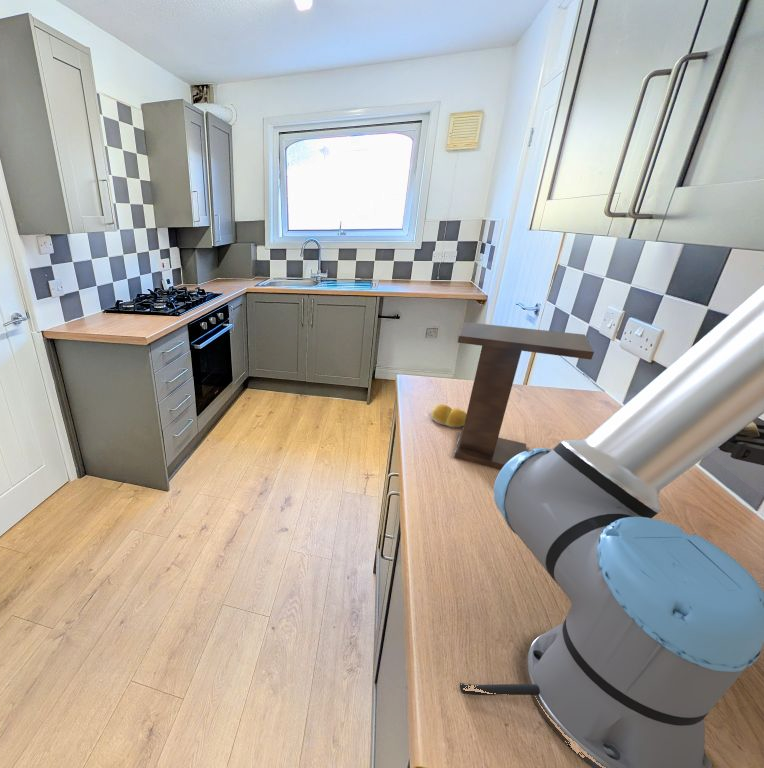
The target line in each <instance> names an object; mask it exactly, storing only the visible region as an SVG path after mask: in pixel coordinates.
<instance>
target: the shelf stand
mask: <svg viewBox="0 0 764 768" xmlns="http://www.w3.org/2000/svg"><path fill="white" fill-rule="evenodd" d="M457 343H458V344H466V345H474V346H481V349H480V352H479V357H478V362H477V365H476V371H475V375H474V380H473V384H472V388H471V393H470V396H469V402H468V406H467V411H466V419H465V423H464V426H463V428H461V429H460V431H459V435H458V440H457V444H456V448H455V452H454V456H453V458H454V459H458V460H461V461H466V462H470V463H474V464H476V465H480V466H485V467H489V468H493V469H497V470H499V471H501V469H502V468H503V466H504V465H505V464H506V463H507V462H508V461H509V460H510V459H512V458H513V457H514V456H516V455H518V454H519V453H521V452H524V451H527V450H528V449H527V443H525V442H522V441H521V442H520V441H515V440H512V439H507V438H502V437H499V436H500V432H501V429H502V425H503V421H504V417H505V414H506V410H507V406H508V403H509V399H510V395H511V392H512V388H513V384H514V381H515V377H516V373H517V369H518V366H519V363H520V358H521V354H522V352H528V353H536V354H543V355H552V356H560V357H568V358H574V359H575V358H576V359H581V360H582V359H583V360H590V361H591V360H592V359H593V357H594V354H595V351H594V349H593V346H592V345H591V344H590V343H591V342H589V340H588V338H587V336H586V334H585V333H584V334H583V333H575V332H574V333H573V332H565V331H563V332H562V331H553V330H546V329H545V330H544V329H536V328H526V327H525V328H524V327H515V326H507V325H506V326H505V325H497V324H496V325H495V324H487V323H477V322H468V321H465V322H464V323H463V324H462V327H461V329H460V332H459V335H458V338H457ZM527 452H528V451H527Z"/></svg>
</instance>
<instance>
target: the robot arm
mask: <svg viewBox="0 0 764 768" xmlns="http://www.w3.org/2000/svg"><path fill="white" fill-rule="evenodd" d="M763 270H764V264H763ZM763 414H764V284H763V285H761V286H760V288H758V289H757V290H756V291H755V292H753V294H751V295H750V296H749V297H748V298H746V300H744V301H743V302H742V303H741V304H740V305H738V306H737V307H736V308H735V309H733V311H731V313H730V314H728V315H727V316H726V317H724V318H723V319H722V320H721V321H720V322H719V323H718V324H716V326H714V327H713V328H712V329H711V330H709V331H708V332H707V334H705V335H704V336H702V338H701V339H700V340H698V341H697V342H696V343H695V344H693V346H691V347H690V348H689V349H688V350H686V351H685V352H684V353H683V354H682V355H681V356H680V357H678V359H676V360H675V361H674V362H673V363H672V364H670V365H668V367H667V368H666V369H664V370H663V371H662V372H661V373H660V374H659V375H658V376H656V377H655V378H654V379H653V380H652V381H651V382H650V383H648V384H647V385H646V386H644V388H642V389H641V390H640V391H639V392H638V393H637V394H636V395H635V396H633V397H632V398H631V399H630V400H629V401H627V402H626V403H625V404H624V405H623V406H622V407H620V408H619V409H618V410H617V411H616V412H615V413H614V414H612V415H610V417H609V418H608V419H607V420H605V421H604V422H603V423H602V424H601V425H600V426H598V427H597V428H596V429H594V430H593V432H592V433H590V434H589V435H588V436H586V438H583V439H572V440H571V439H566V440H565V439H564V440H562V441H560V442H559V443H558V444H557V445H556V446H555V447H554V448H553V449H550V448H545V447H537V448H531V449H530V451H524V452H521V453H519V454H518V455H516V456H514V457H513V458H512V459H510V460H509V461H508V462H507V463H506V464H505V465H504V466H503V468H502V469H501V470H499V472H498V474H497V475H496V478H495V480H494V486H493V494H494V495H493V500H494V503H495V506H496V508H497V510H498V512H499V513H500V515H502V517H503V518H504V520H505V523H506V524H507V526H508V528H509V529H510V530H511V531H512V532H513V533H514V534H515V535H517V536H518V538H519V539H520V540H521V541H522V543H523V544H524V545H525V546H526V548H527V549H528V550H529V551H530V553H531V554H532V555H533V556H534V557H535V559H536V560H537V561H538V563H540V565H541V566H542V568H543V569H544V570H545V571H546V572H547V574H548V575H549V576H550V577H551V578H552V580H553V581H554V582H555V583H556V585H557V586H558V587H559V588H560V589H561V591H562V592H563V593H564V594H565V595H566V597H567V598H568V600H569V601H570V604H571V605H570V607H569V610H568V611H567V614H566V617H565V618H564V621H563V622H561V623H560V624H558V625H556V626H555V627H553V628H551V629H549V630H547V631H546V632H544V633H542V634H541V635H539V636H538V637H537V638H536V639H534V640H533V641H532V643H531V645H530V648H529V650H528V652H527V655H526V657H525V660H524V677H525V678H524V679H525V682H526V683H501V684H500V683H499V684H497V683H496V684H471V683H467V684H468V685H469V686H471V685H474V687H475V685H476V687H475V688H474V689H476V688H477V689H479V690H480V689H481V690H483V691H484V692H485V691H486V692H489V693H493V694H487V693H481V692H475V691H465V690H463V688H465V687H466V686H467V687H466V688H467V689H468V685H464V684H465V683H462V682H460V683H459V689H460V692H461V694H463V695H469V696H470V695H471V696H495V695H494V693H496V694H507V695H506V696H531V698H532V700H533V703H534V705H536V708H537V709H538V711H539V713H540V715H541V716H542V718H543V719H544V720H545V721H546V723H547V724H548V726H549V727H550V728H551V729H552V731H553V732H554V733H555V734H556V735H557V736H558V737H559V738H560V740H561V741H562V742H563V743H564V744H565V745H567V744H568V745H569V744H570V742H569V741H568V740H567V739H566V738H565V737H564V736H563V735H562V733H561V732H560V731H559V730H558V729H557V728H556V727H555V725H554V724H553V723H552V722H551V721H550V719H549V718H548V717H547V715H546V714H545V712H546V713H547V714H548V715H549V717H550V718H551V719H552V720H553V721H554V722H555V723H556V724H557V726H558V727H560V729H561V730H562V731H563V732H564V734H565V735H567V736H568V737H569V738H571V739H572V740H573V741H575V742H576V743H577V744H578V745H579V746H580V747H581V748H582V749H583V750H584V751H586V752H587V754H588V755H590V756H591V757H593V759H595V760H596V762H598V763H600V764H601V765H602V766H604V767H606V768H711V767H712V766H713V763H712V762H711V760H710V758H708V756H707V755H706V749H705V733H706V732H705V729H706V728H705V718H706V716H707V715H708V714H709V713H710V712H711V711H712V709H713V708H714V707H715V706H716V705H717V704H718V703H719V702H720V700H721V699H722V698H723V696H725V694H726V693H727V692H728V691H729V689H730V688H731V687H732V686H733V685H734V683H735V682H736V681H737V680H738V678H740V676H741V675H742V674H743V673H744V671H745V670H746V669H747V668H749V667H750V666H752V665H754V663H755V662H756V661H757V660H758V659H759V658H760V656H761V654H762V653H761V652H762V650H763V646H764V589H763V588H762V587H761V585H760V583H759V582H758V581H757V580H756V579H755V578H754V576H752V574H751V573H750V572H749V571H748V570H747V569H746V568H745V567H744V566H743V565H741V563H740V562H738V561H737V560H736V559H735V558H733V556H731V555H730V554H728V553H727V552H725V550H724V549H722V548H720V547H719V546H717V545H715V544H714V543H712V542H711V541H709V540H707V539H706V538H704V537H702V536H700V535H698V534H695V533H693V534H688V533H686V532H685V531H684V530H683V529H682V527H681V526H678V525H675V524H673V523H670V522H667V521H664V520H661V519H656V518H654V517H655V516H657V515H658V514H659V513H660V512H661V510H662V509H661V503H660V498H659V497H660V496H659V495H660V491H662V490H663V489H664V488H666V487H667V486H668V485H670V484H671V483H673V482H674V481H675V480H677V479H678V478H679V477H681V475H683V474H685V473H686V472H687V471H689V470H690V469H691V468H693V467H694V466H695V465H697V464H698V463H699V462H700V461H702V460H703V459H705V458H706V457H708V456H709V455H710V454H711V453H713V452H714V451H716V449H719V450H720V452H723V453H727V454H728V453H729V454H730V455H729V457H730V458H732V459H734V460H737V461H742V462H746V463H751V464H755V465H759V466H764V422H762V421H756V420H757V419H758V418H759V417H761V416H762V415H763ZM751 422H754V423H755V424H756V426H757V429H758V432H759V434H760V436H756V437H749V438H747V437H739V436H737V434H736V433H738V432H739V431H740V430H742V429H743V428H744V427H746V426H747V425H748V424H750V423H751ZM461 684H462V685H461ZM477 685H478V686H477ZM466 688H465V689H466ZM469 688H470V687H469ZM508 694H509V695H508ZM535 696H536V697H535ZM536 698H537V699H536ZM537 700H538V701H539V703H540V705H541V706H542V707H543V709H544V710H545V712H544V711H543V709H542V708H541V706H540V705H539V703H538V701H537ZM565 741H566V742H567V743H566V742H565ZM568 742H569V743H568ZM568 745H567V746H568ZM570 745H571V744H570ZM570 745H569V746H570ZM569 746H568V747H569ZM570 747H571V746H570ZM570 747H569V748H570ZM579 753H580V752H579ZM579 753H578V754H579ZM581 753H582V752H581ZM581 753H580V754H581ZM582 754H583V753H582ZM582 754H581V755H582ZM583 755H584V754H583ZM584 756H585V755H584ZM582 760H583V761H584V762H586V763H587V764H588V765H590V766H591V767H592V768H602V767H600V766H599V765H597V764H596V763H595V762H593V761H592V760H591V759H589V758H588V757H586V756H585V757H584V758H583V759H582Z"/></svg>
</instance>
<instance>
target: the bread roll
mask: <svg viewBox="0 0 764 768" xmlns="http://www.w3.org/2000/svg"><path fill="white" fill-rule="evenodd" d="M466 414H467V412H465V411H464V410H462V409H460V408H459V407H458V408H457V407H453V408H452V407H450V406H449V405H447V404H445V403H443V404H438V405H436V406H435V407H433V409H432V410H431V411H430V415H429V416H430V419H431V420H432V421H433V422H435V423H436V424H439V425H443V426H447V427H449V428H455V429H456V428H461V427H464V423H465V419H466Z"/></svg>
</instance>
